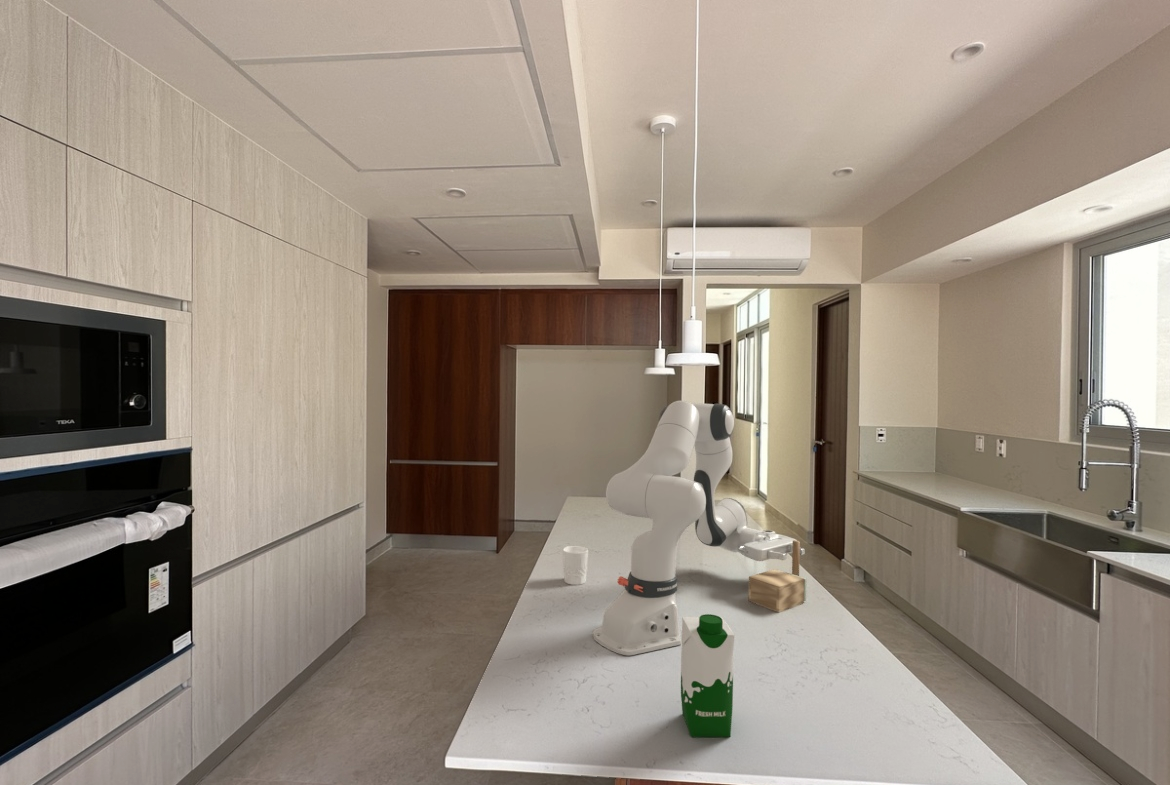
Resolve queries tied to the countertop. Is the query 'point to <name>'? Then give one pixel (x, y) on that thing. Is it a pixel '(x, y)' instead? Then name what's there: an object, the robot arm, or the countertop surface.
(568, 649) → the countertop surface
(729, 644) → the milk carton
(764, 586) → the tan wooden block
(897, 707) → the countertop surface
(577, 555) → the white cup
